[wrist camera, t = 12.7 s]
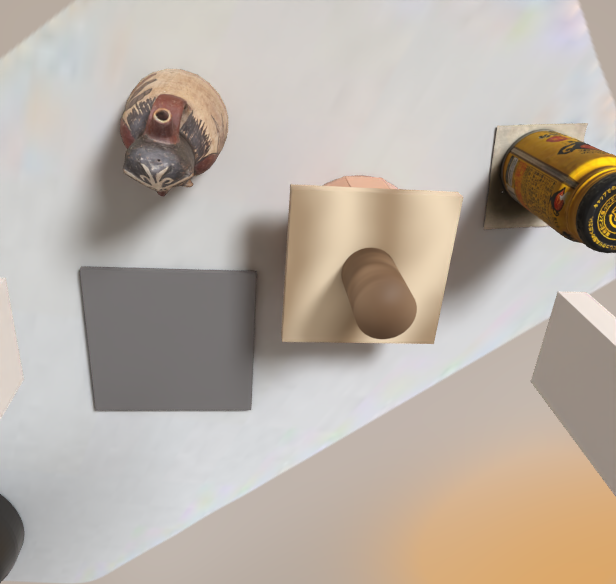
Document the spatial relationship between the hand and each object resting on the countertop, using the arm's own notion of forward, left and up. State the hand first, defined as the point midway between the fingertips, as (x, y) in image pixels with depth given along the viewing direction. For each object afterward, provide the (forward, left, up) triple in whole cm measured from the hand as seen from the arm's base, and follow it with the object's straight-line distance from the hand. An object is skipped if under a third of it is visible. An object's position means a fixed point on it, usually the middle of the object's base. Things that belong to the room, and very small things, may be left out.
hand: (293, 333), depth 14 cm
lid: (+8, -10, -27) cm, 30 cm away
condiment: (+22, -4, -32) cm, 39 cm away
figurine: (-6, -1, -32) cm, 32 cm away
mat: (-7, -20, -32) cm, 38 cm away
